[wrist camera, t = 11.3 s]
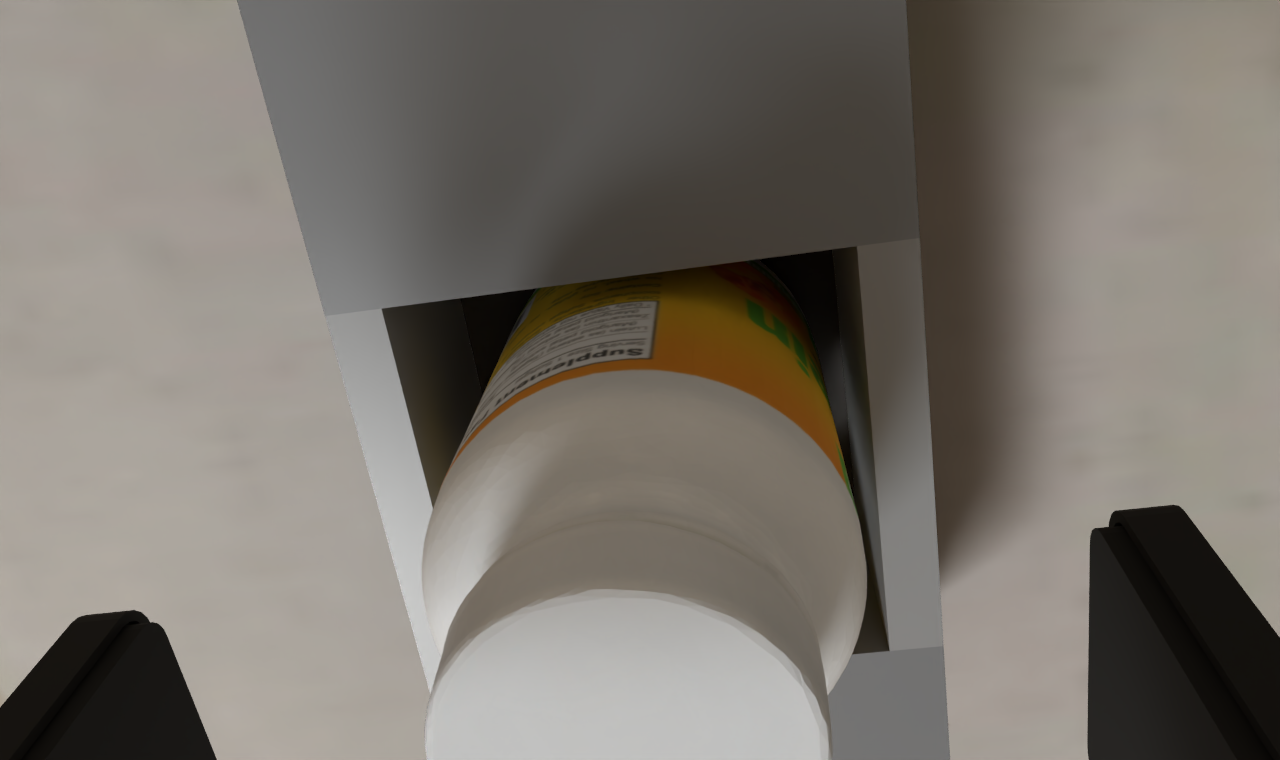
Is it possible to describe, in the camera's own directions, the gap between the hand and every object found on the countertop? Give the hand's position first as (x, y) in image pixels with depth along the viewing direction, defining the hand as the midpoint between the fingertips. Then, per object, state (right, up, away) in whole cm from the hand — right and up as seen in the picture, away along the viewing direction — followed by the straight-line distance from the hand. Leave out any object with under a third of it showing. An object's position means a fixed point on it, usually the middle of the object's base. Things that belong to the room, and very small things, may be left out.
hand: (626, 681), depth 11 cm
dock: (0, +4, +8) cm, 9 cm away
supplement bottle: (+1, +3, +9) cm, 9 cm away
